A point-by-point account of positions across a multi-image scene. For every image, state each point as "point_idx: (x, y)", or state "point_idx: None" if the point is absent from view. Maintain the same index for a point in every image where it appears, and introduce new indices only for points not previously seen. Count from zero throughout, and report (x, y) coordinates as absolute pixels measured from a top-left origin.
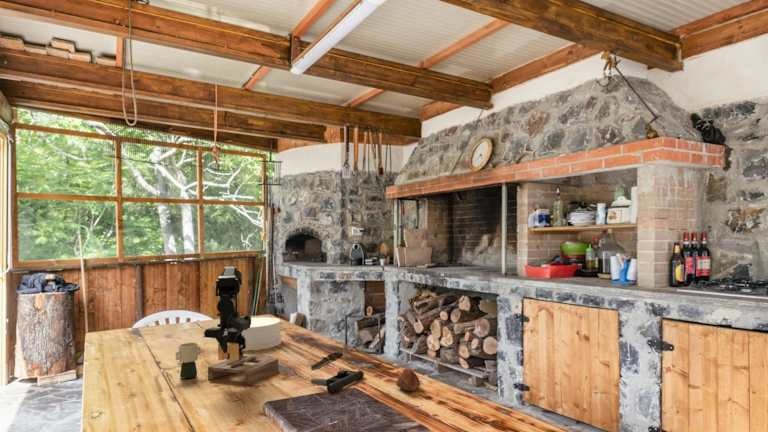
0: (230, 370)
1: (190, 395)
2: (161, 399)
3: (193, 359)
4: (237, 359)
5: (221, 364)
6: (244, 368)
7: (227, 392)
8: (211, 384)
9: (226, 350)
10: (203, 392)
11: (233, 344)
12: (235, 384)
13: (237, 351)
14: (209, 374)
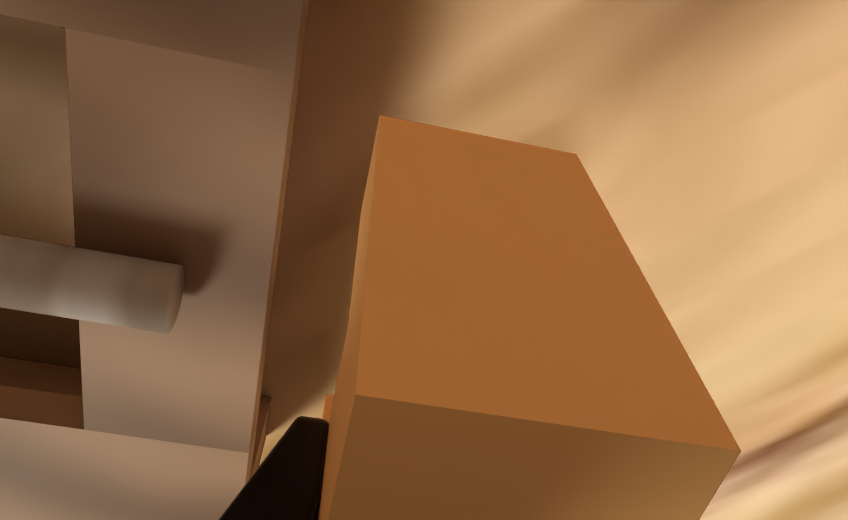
0: (277, 247)
1: (746, 355)
2: (816, 507)
3: None
4: (429, 131)
5: (95, 471)
6: (178, 38)
7: (692, 5)
8: None
9: None
10: (664, 286)
11: (557, 503)
12: (364, 68)
13: (435, 225)
14: (257, 467)
